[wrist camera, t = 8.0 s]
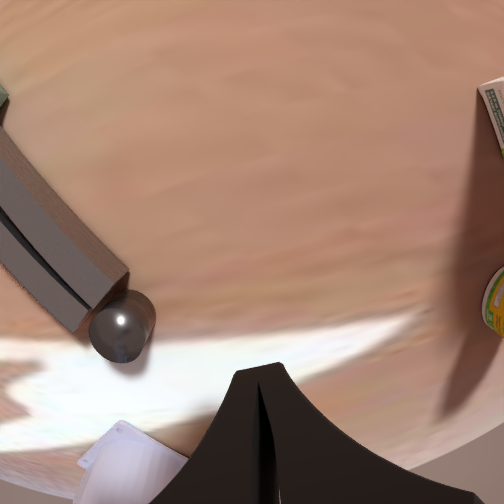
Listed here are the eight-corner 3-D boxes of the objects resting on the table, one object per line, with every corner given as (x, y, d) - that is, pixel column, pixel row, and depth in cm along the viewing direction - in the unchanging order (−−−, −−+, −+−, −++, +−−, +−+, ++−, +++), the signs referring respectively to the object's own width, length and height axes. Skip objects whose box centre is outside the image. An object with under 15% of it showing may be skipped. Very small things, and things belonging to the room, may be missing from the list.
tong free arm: (149, 246, 17) (135, 258, 14) (109, 292, 17) (93, 309, 15) (-17, 61, 13) (-38, 54, 10) (-44, 105, 13) (-65, 102, 11)
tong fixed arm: (119, 366, 19) (103, 395, 16) (-67, 163, 14) (-93, 166, 11) (165, 312, 18) (153, 339, 15) (-40, 103, 14) (-67, 99, 10)
